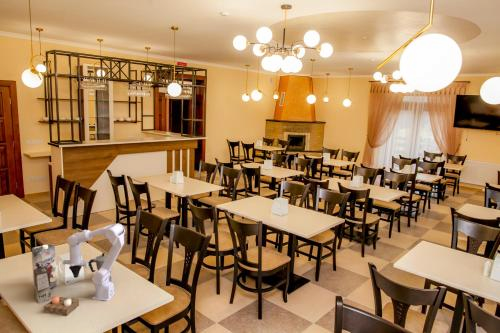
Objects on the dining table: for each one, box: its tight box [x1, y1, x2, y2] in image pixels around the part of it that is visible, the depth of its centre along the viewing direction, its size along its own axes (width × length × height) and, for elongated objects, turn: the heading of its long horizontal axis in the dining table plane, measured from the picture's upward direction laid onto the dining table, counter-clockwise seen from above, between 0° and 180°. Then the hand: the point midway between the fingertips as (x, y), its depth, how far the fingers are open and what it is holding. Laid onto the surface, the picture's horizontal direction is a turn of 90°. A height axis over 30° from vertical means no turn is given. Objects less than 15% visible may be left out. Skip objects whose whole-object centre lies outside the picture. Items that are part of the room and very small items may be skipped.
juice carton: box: [31, 243, 57, 290], centre depth 202 cm, size 9×10×27 cm
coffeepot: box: [87, 252, 112, 282], centre depth 215 cm, size 15×9×18 cm, turn 129°
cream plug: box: [64, 299, 71, 306], centre depth 184 cm, size 3×3×5 cm
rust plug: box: [51, 295, 60, 305], centre depth 185 cm, size 3×3×5 cm
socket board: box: [43, 296, 80, 317], centre depth 185 cm, size 13×10×4 cm
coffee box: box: [32, 267, 52, 304], centre depth 194 cm, size 9×6×16 cm
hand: (76, 277), depth 200 cm, fingers closed
